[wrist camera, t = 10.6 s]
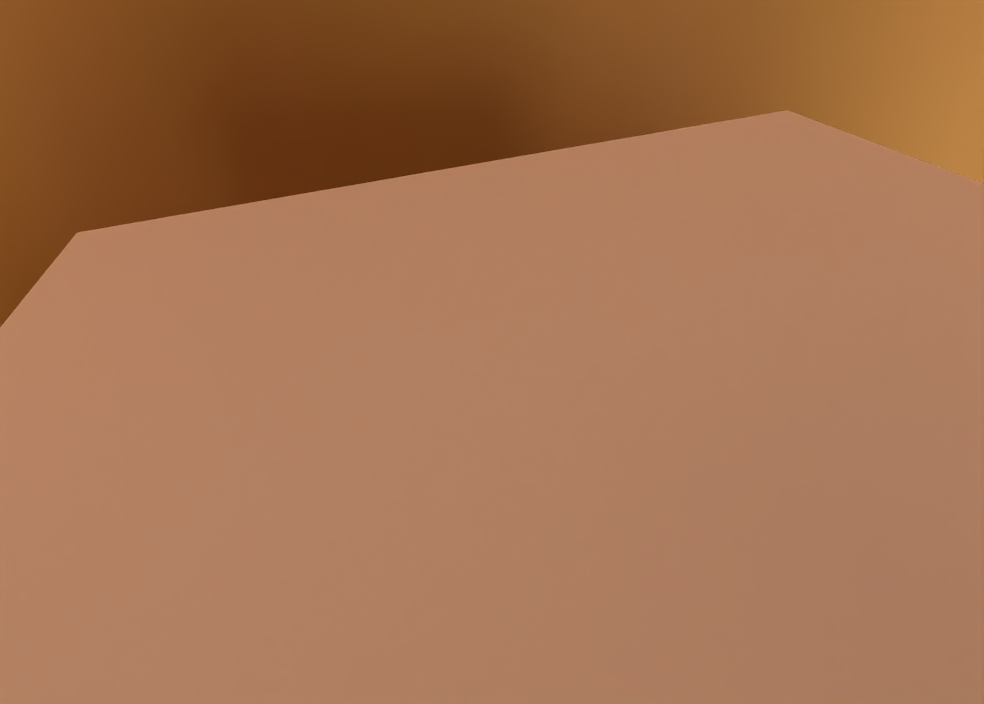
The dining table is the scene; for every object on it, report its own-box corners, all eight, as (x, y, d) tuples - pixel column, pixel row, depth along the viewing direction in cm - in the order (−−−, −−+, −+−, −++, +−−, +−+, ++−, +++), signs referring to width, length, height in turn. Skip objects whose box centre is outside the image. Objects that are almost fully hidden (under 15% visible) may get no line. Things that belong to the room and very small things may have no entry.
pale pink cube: (787, 109, 8) (1976, 555, 2) (736, 572, 12) (1117, 1151, 6) (77, 232, 7) (-969, 1528, 1) (281, 689, 11) (242, 1494, 5)
